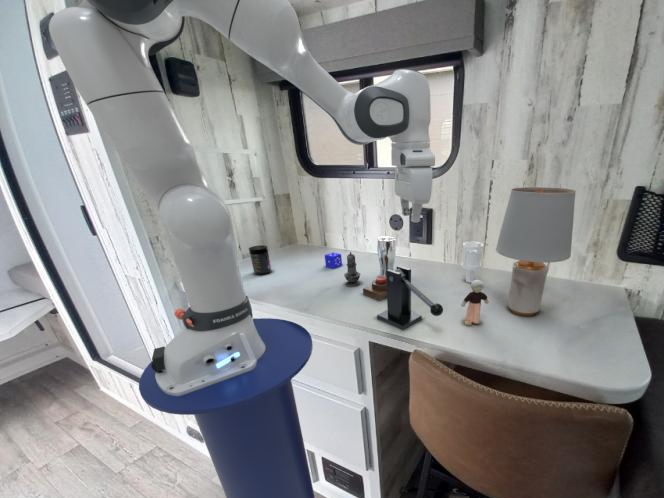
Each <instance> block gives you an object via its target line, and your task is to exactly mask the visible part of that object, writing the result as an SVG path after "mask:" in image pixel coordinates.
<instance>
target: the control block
mask: <svg viewBox="0 0 664 498" xmlns="http://www.w3.org/2000/svg"><path fill="white" fill-rule="evenodd" d="M362 294H363V295H365V296H367V297H370V298H372V299H374V300H377V301H382V300H384V299H387V283H386V284H377V283H376V278H375V279H373V280H372V281H371V284H370V285H368V286H364V287H363V288H362Z"/></svg>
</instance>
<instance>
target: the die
mask: <svg viewBox="0 0 664 498" xmlns="http://www.w3.org/2000/svg"><path fill="white" fill-rule="evenodd" d="M342 259H343V258H342V253H338V252H329V253H327V254H324V263H325V267H327V268H331V269H336V268H339V267H342V266H343V260H342Z"/></svg>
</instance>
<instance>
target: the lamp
mask: <svg viewBox="0 0 664 498" xmlns="http://www.w3.org/2000/svg"><path fill="white" fill-rule="evenodd" d="M576 192H577V191H576V190H575V189H570V188H562V187H536V186H535V187H533V186H531V187H514V188H512V189H511V190H510V194H509V198H508V201H507V205H506V209H505V213H504V216H503V220H502V224H501V228H500V233H499V236H498V238H497V243H496V246H495V251H496V253H497V254H499V255H501V256H503V257H504V258H505V257H506V258H509V259H512V260H516V261H515V262H514V263H513V265H512V271H511V278H510V285H509V291H508V292H509V293H508V298H507V307H508V308H509V311H510V312H511V313H513V314H515V315H517V316H522V317H531V316H534V315H536V314H537V313H538V312H539V311H540V309H541V306H542V300H543V296H544V290H545V285H546V280H547V276H548V270H549V267H548V265H546V263H548V264H549V263H559V262H563V261H564V262H565V261H566V260H569V259H570V258H571V256H572V244H573V242H572V241H573V233H574V232H573V230H574V218H575V216H574V215H575V204H576V203H575V200H576Z"/></svg>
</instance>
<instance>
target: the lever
mask: <svg viewBox="0 0 664 498" xmlns="http://www.w3.org/2000/svg"><path fill="white" fill-rule="evenodd" d="M394 271H396V272H399V273H401V282H402V283H403V284H404V285H405V286H407V287H408V288H409V289H410V290H411V293H413V294H414V295H415V296H417V298H419V299H420V300H421V301H422V302H423V303H424V304H426V306H427V307H429V308H430V309H429V311H430V313H431V314H432V316H435V317H439V316H441V315H442V314H443V312H444V308H443V305H441V304H440V303H438V302H437V303H434V302H433V301H431V299H430V298H428V297H427V296H426V295H425V294H424V293H423V292H422V291H420V290H419V289H418V288H417V287H416V286H415V285H414V284H412V282H411V283H410V282H409V281H408V280H407V279H406V278H405V277H406V274H405V273H404V272H403V271H402V270H400V269H397V268H396V269H394Z"/></svg>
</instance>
